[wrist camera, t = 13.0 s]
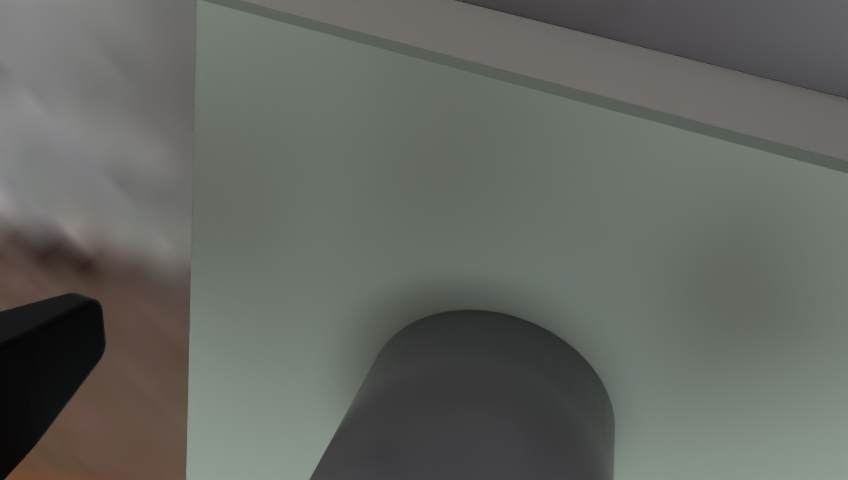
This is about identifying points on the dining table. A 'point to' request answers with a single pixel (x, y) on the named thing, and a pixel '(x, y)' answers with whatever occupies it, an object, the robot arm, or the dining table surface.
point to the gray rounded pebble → (475, 407)
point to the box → (598, 67)
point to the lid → (500, 252)
